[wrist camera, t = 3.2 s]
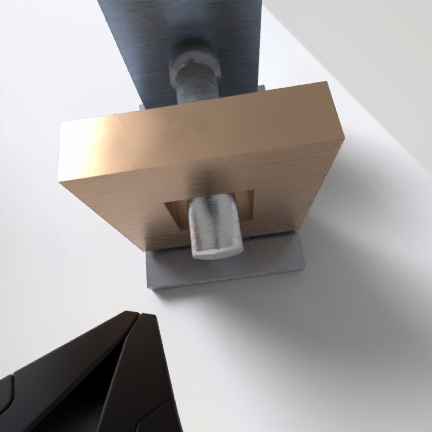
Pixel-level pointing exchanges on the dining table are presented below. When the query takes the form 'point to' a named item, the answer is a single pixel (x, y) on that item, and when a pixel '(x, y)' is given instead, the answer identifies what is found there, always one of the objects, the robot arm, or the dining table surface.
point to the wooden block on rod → (204, 162)
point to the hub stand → (193, 92)
